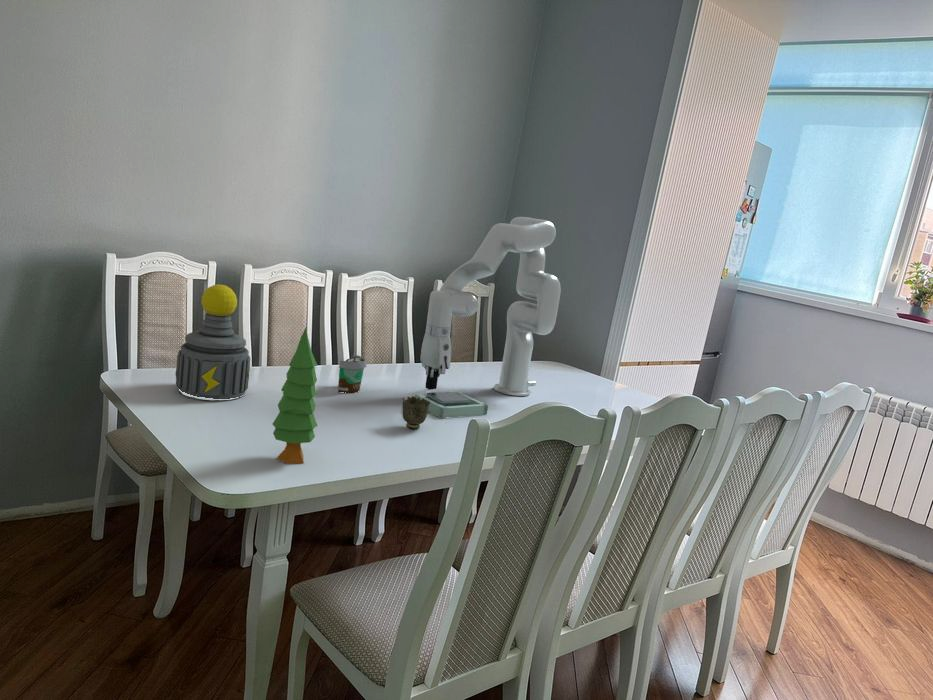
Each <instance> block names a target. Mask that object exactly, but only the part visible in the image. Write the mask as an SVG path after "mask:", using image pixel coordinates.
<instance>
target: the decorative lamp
mask: <svg viewBox="0 0 933 700" xmlns="http://www.w3.org/2000/svg"><path fill="white" fill-rule="evenodd" d="M237 298H238V297H237V295H236V293H235V292H234V290H233V289H232V288H231V287H229V286H227V285H225V284H213V285H211V286H209V287H207V289H205V290H204V291H203V294H202V296H201V301H200V302H201V306H202V309H203V310H204V312H205V314H204V319H202V322H201V324H202V326H200V327H199V330H195V331H192V332H189V333H187V334H186V335H185V337H184V341H185V343H183V344H182V345H180V349H179V350H178V352H177V355H176V369H175V384H176V387H177V389H178V388H179V389H180V390H181V391H182V392H185V393H187V394H190V395H193V396H197V397H205V398H213V399H230V398H236V397H240V396H242V395H243V394H244V393H245V394H246V391H248V388H249V380H250V372H251V357H250V355H249V354H250V353H249V350H248V349H247V348H246V346H247V341H246V339H245V337H242V336H241V335H239V334H237V333H235V332H234V329H233V322H232V316H231V315H232V314H233V313H234V312H235V310H236V308H237V306H238V299H237ZM245 394H244V395H245ZM244 395H243V396H244ZM243 396H242V397H243ZM240 398H241V397H240Z"/></svg>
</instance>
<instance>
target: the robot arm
mask: <svg viewBox="0 0 933 700" xmlns="http://www.w3.org/2000/svg"><path fill="white" fill-rule="evenodd" d="M556 234H557V230H556V227H555V225H554V223H552V222H551V221H549V220H546V219H540V218H539V219H538V218H533V217H529V216H528V217H527V216H517V217H514V218H512V219H511V221H510V223H503V222H500V223H495V224H494V225H493V226H492V227H491V228H490V230H489V232H488V233H487V235H486V236H485V237H484V239H483V240H482V243H481V244H480V245H479V247H478V249H477V250H476V252H475V253H474V255H473V257H472V258H471V259H469V260H468V261H466V262H464V263H463V264H462V265H460V266H459V267H458V268H456V269H454V270H453V271H452V272H451V273H450V274H449V275H448V277H446V279H445V281H443V284H442V286H441V287H440V289H439V290H432V291H431V292H430V295H429V300H428V301H429V302H428V309H427V311H428V312H427V318H426V326H425V333H424V336H423V339H422V340H423V341H422V344H421V348H420V350H421V351H420V358H419V359H420V363H421V366H422V368H424V369H425V376H426V379H425V389H427V390H437V388H438V387H437V386H438V379H439V377H440V375H445V374H446V370H449V369H450V368H451V362H452V361H451V360H452V359H451V358H452V338H451V337H450V336H451V328H452V321H453V316H457V317H464V318H465V317H472V316H473V315H474V314H475V313H476V312H477V311H478V309H479V300H478V298H477V297H476V296H475V295H474V294H472V293H470V292H467V291H463V289H464V288H465V287H466V286H467V285H468V284H470V283H472V282H475V281H476V280H480V279H484V278H487V277H490V276H493V275H494V274H495V273H496V272H497V270H498V268H499V266H501V264H502V262H503V261H504V259H505V258H506V256H507V254H508V253H509V252H510V253H516V254H519V265H518V272H517V278H516V287H515V289H516V292H517V294H518V295H519V296H520V297H522V298H526V299H530V300H534V301H537V303H533V302H529V301H526V300H525V301H524V300H517V301H514V302H513V303H511V304H510V306H509V307H508V309H507V311H506V312H507V313H506V326H507V327H506V338H505V344H504V351H503V357H502V362H501V370H500V376H499V382H498V383H495V384H494V385H493V389H494V391H496V392H498V393H501V394H505V395H508V396H513V397H514V396H517V397H526V396H529V395H530V394H531V390H530V389H529V388H530V387H535V386H537V382H536V380H530V379H529V377H528V376H529V374H530V373H529V372H530V367H531V359H532V354H533V348H534V338H533V337H534V336H533V334H537V335H540V336H546V335H548V334H550V333H552V331H553V330H554V328H555V325H556V321H557V316H558V311H559V307H560V306H559V305H560V299H561V291H562V290H561V282H560V280H559V278H558V277H556V276H555V275H554V274H550V273H547V272H545V266H546V251H545V250H546V249H545V248H546V247H548V246H550V245H551V244H553V243H554V240H555V239H556V236H557V235H556Z"/></svg>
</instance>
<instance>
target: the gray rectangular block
mask: <svg viewBox="0 0 933 700" xmlns="http://www.w3.org/2000/svg"><path fill="white" fill-rule="evenodd" d="M455 392H456V391H441V392H439V391H437V392H435V391H434V392H426V394H425V397H426V398H428V399H430V400H432V401H434V402H436V403H438V404H440V405H443V406H445V407H447V406H460V405H469V402H470V400H469V399H467V398H465V397H463V396H461V395H459V394H457V393H455Z"/></svg>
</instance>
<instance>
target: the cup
mask: <svg viewBox="0 0 933 700" xmlns="http://www.w3.org/2000/svg"><path fill="white" fill-rule="evenodd" d="M401 399H402V405H401V406H402V409H401V411H402V412H401V413H402V414H401V415H402V418H403V420H404V421H405V422H406V424H405V426H406V428H407V429H409V430H412V431H417V430H420V427H421V426H420V425H421V424H423V423H424V422H425V421H426V418H427V415H428V413H429V411H428V410H429V406H430V402H429V401H428V402H427V399H425V400H424V398H423V399H422V400H421V401H420V398H418V399H417V398H415V397H414V395H413V396H407V397H406V399H405V397H402V398H401Z"/></svg>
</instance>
